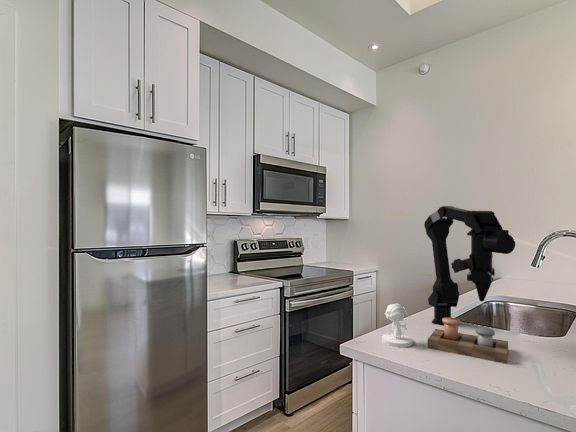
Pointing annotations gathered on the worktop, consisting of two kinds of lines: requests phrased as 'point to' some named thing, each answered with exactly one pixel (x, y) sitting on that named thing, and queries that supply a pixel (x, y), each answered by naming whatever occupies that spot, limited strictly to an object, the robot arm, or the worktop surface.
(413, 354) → the worktop surface
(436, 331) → the socket board
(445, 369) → the worktop surface
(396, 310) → the figurine
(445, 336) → the plug terracotta
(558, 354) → the worktop surface
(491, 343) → the plug grey
